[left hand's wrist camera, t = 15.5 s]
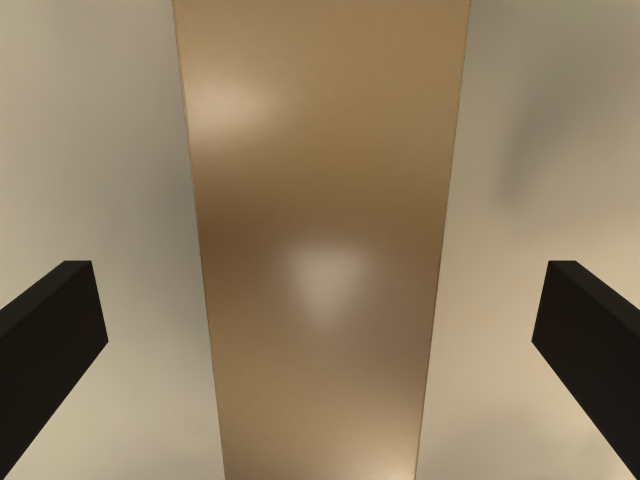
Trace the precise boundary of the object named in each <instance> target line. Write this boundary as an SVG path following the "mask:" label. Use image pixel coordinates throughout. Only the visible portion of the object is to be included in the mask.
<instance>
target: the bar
mask: <svg viewBox="0 0 640 480" xmlns="http://www.w3.org/2000/svg"><path fill="white" fill-rule="evenodd" d="M172 5H173V14H174V23H175V32H176V41H177V50H178V59H179V68H180V77H181V86H182V95H183V104H184V113H185V122H186V131H187V140H188V149H189V158H190V167H191V176H192V185H193V194H194V203H195V212H196V221H197V230H198V239H199V248H200V257H201V266H202V275H203V284H204V293H205V301H206V310H207V319H208V328H209V337H210V346H211V355H212V364H213V373H214V382H215V391H216V400H217V409H218V418H219V427H220V436H221V445H222V454H223V463H224V472H225V480H415V478H416V470H417V461H418V453H419V444H420V435H421V427H422V418H423V410H424V401H425V392H426V384H427V375H428V367H429V358H430V349H431V341H432V332H433V324H434V315H435V306H436V298H437V289H438V280H439V272H440V263H441V255H442V246H443V237H444V229H445V220H446V212H447V203H448V194H449V186H450V177H451V169H452V160H453V151H454V143H455V134H456V126H457V117H458V108H459V100H460V91H461V83H462V74H463V65H464V57H465V48H466V40H467V31H468V22H469V14H470V5H471V0H172Z"/></svg>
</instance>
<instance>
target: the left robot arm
mask: <svg viewBox="0 0 640 480" xmlns="http://www.w3.org/2000/svg"><path fill="white" fill-rule="evenodd" d="M108 342H109V341H108V336H107V332H106V327H105V322H104V318H103V313H102V308H101V304H100V299H99V294H98V290H97V285H96V280H95V276H94V271H93V266H92V262H91V261H63V262H62V263H61V264H59V265H58V266H57V267H56V268H54V269H53V270H52V271H50V272H49V273H48V274H46V275H45V276H44V277H43V278H41V279H40V280H39V281H37V282H36V283H35V284H33V285H32V286H31V287H30V288H28V289H27V290H26V291H24V292H23V293H22V294H20V295H19V296H18V297H17V298H15V299H14V300H13V301H11V302H10V303H9V304H7V305H6V306H5V307H4V308H2V309H1V310H0V480H3V479H4V478H5V477H6V475H7V474H8V473H9V472H10V470H11V469H12V468H13V466H14V465H15V464H16V462H17V461H18V460H19V458H20V457H21V456H22V454H23V453H24V452H25V451H26V449H27V448H28V447H29V445H30V444H31V443H32V441H33V440H34V439H35V437H36V436H37V435H38V433H39V432H40V431H41V430H42V428H43V427H44V426H45V424H46V423H47V422H48V420H49V419H50V418H51V416H52V415H53V414H54V412H55V411H56V410H57V409H58V407H59V406H60V405H61V403H62V402H63V401H64V399H65V398H66V397H67V395H68V394H69V393H70V391H71V390H72V389H73V388H74V386H75V385H76V384H77V382H78V381H79V380H80V378H81V377H82V376H83V374H84V373H85V372H86V370H87V369H88V368H89V367H90V365H91V364H92V363H93V361H94V360H95V359H96V357H97V356H98V355H99V353H100V352H101V351H102V349H103V348H104V347H105V346H106V344H107V343H108ZM531 342H532V343H533V344H534V346H535V347H536V348H537V349H538V351H539V352H540V353H541V355H542V356H543V357H544V359H545V360H546V361H547V363H548V364H549V365H550V367H551V368H552V369H553V370H554V372H555V373H556V374H557V376H558V377H559V378H560V380H561V381H562V382H563V384H564V385H565V386H566V388H567V389H568V390H569V391H570V393H571V394H572V395H573V397H574V398H575V399H576V401H577V402H578V403H579V405H580V406H581V407H582V409H583V410H584V411H585V412H586V414H587V415H588V416H589V418H590V419H591V420H592V422H593V423H594V424H595V426H596V427H597V428H598V430H599V431H600V432H601V433H602V435H603V436H604V437H605V439H606V440H607V441H608V443H609V444H610V445H611V447H612V448H613V449H614V451H615V452H616V453H617V454H618V456H619V457H620V458H621V460H622V461H623V462H624V464H625V465H626V466H627V468H628V469H629V470H630V472H631V473H632V474H633V475H634V477H635V478H636V479H637V480H640V310H639V309H638V308H636V307H635V306H634V305H633V304H631V303H630V302H629V301H627V300H626V299H625V298H623V297H622V296H621V295H620V294H618V293H617V292H616V291H614V290H613V289H612V288H610V287H609V286H608V285H607V284H605V283H604V282H603V281H601V280H600V279H599V278H597V277H596V276H595V275H594V274H592V273H591V272H590V271H588V270H587V269H586V268H584V267H583V266H582V265H581V264H579V263H578V262H577V261H549V262H548V266H547V271H546V276H545V280H544V285H543V290H542V294H541V299H540V304H539V308H538V313H537V318H536V322H535V327H534V331H533V336H532V341H531Z"/></svg>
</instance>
